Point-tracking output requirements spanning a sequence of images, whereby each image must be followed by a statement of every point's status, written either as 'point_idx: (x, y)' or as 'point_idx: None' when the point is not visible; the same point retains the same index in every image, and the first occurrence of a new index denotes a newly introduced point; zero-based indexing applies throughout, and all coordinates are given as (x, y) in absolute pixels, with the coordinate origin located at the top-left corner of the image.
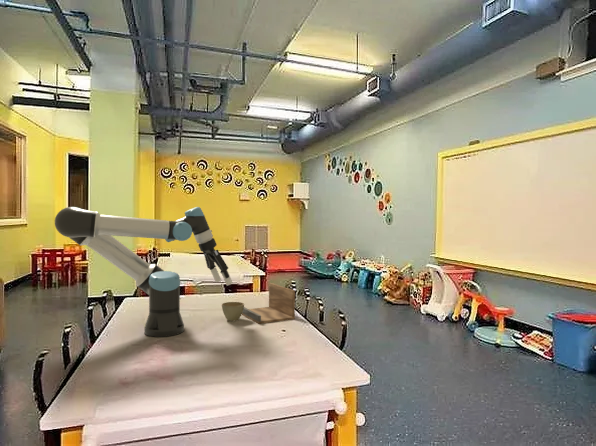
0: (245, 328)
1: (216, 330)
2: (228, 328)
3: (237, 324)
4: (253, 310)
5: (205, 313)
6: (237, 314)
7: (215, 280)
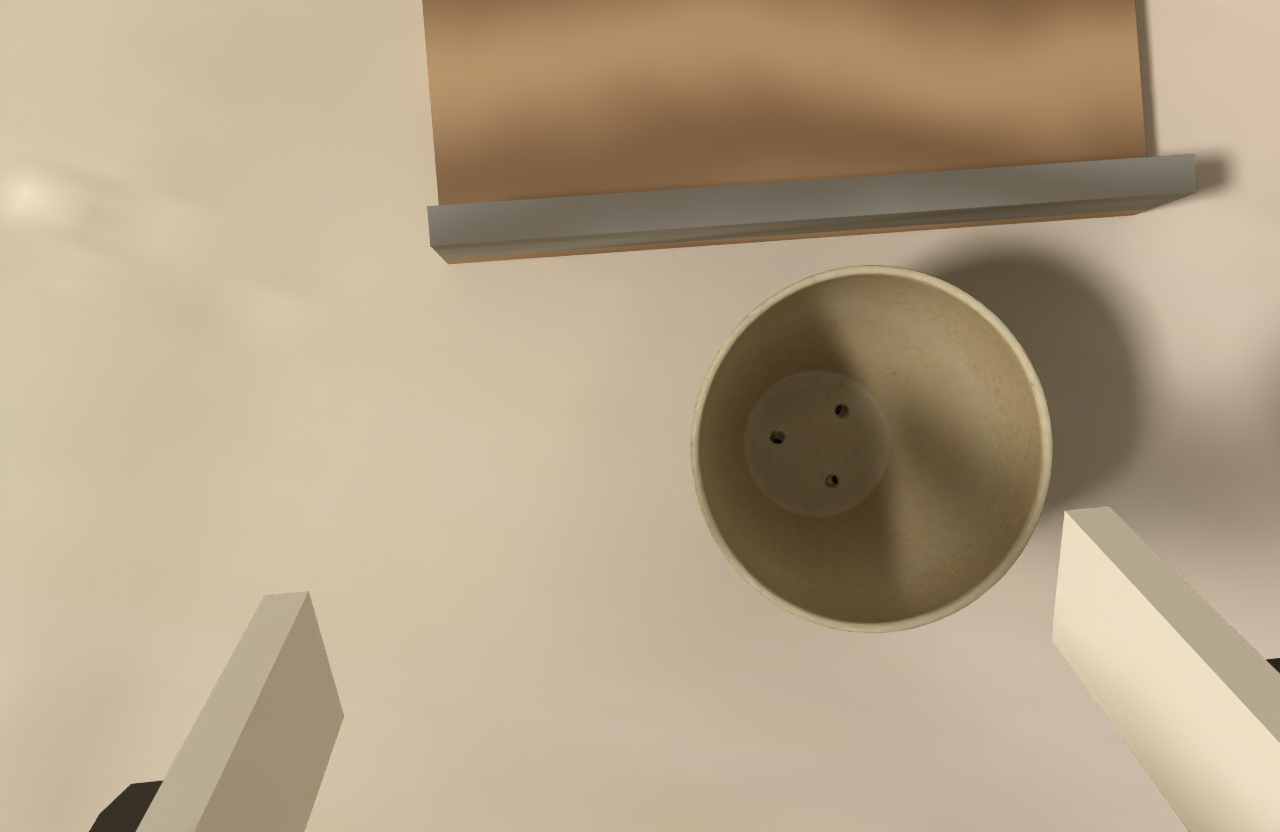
0: (1250, 421)
1: None
2: None
3: None
4: (540, 47)
5: None
6: (964, 417)
7: (325, 762)
